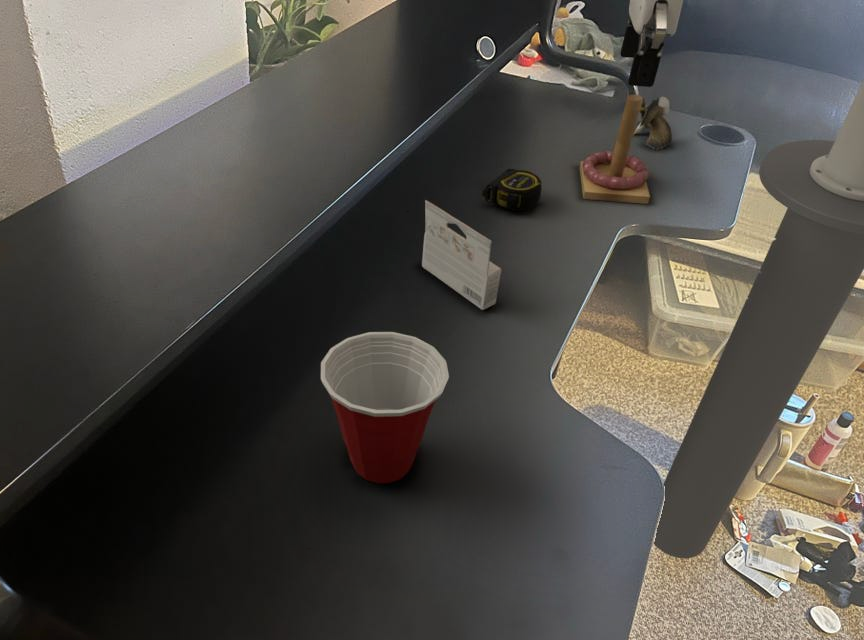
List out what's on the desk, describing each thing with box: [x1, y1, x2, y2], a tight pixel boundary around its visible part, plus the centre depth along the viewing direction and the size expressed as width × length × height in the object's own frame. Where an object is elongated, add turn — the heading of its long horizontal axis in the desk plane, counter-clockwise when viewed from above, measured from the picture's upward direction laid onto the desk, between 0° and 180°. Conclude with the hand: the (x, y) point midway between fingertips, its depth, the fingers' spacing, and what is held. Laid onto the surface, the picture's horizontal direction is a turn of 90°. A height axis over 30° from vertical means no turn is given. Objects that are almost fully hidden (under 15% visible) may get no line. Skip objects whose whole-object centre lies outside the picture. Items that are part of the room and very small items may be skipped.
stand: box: [579, 94, 651, 205], centre depth 103 cm, size 9×9×13 cm
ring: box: [582, 150, 650, 189], centre depth 107 cm, size 9×9×2 cm
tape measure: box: [481, 168, 543, 211], centre depth 102 cm, size 7×7×4 cm
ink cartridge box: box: [421, 199, 502, 311], centre depth 86 cm, size 2×11×10 cm, turn 39°
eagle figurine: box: [633, 96, 673, 151], centre depth 117 cm, size 8×7×9 cm
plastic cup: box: [320, 331, 450, 484], centre depth 66 cm, size 11×11×12 cm
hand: (635, 70), depth 100 cm, fingers open, 9 cm apart
